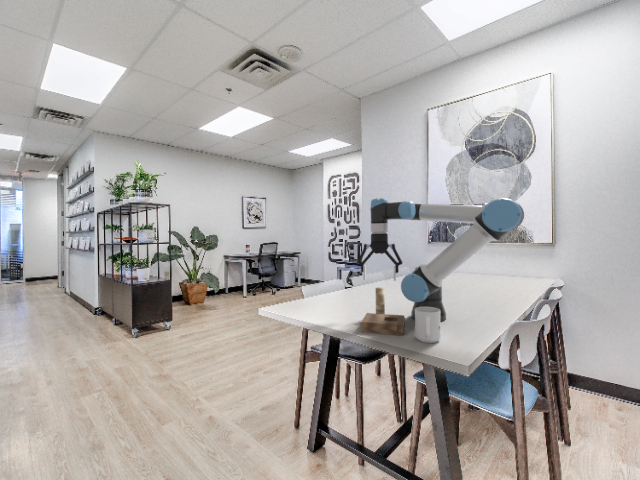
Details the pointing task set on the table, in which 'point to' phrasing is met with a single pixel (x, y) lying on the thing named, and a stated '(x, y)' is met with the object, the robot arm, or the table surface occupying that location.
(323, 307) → the table surface
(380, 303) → the peg
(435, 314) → the mug
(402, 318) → the board
